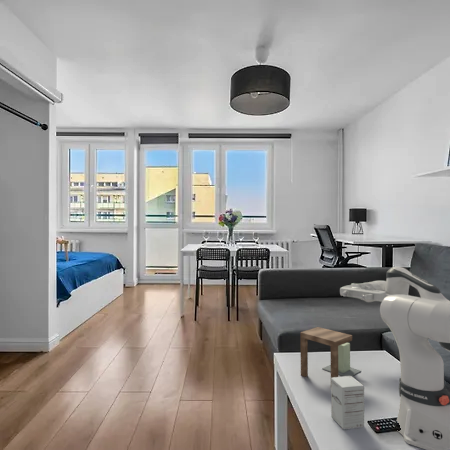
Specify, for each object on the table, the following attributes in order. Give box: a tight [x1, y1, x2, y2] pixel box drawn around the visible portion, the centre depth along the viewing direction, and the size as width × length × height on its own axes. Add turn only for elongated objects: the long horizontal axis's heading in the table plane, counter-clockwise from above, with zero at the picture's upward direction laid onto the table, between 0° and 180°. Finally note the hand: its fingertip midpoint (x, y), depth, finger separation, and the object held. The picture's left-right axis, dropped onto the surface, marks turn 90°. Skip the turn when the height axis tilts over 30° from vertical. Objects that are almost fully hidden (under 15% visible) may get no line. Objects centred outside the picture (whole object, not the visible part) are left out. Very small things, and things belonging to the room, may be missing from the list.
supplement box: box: [330, 376, 365, 430], centre depth 109 cm, size 7×7×13 cm
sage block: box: [338, 342, 351, 373], centre depth 148 cm, size 5×5×11 cm
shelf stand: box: [299, 326, 353, 379], centre depth 141 cm, size 16×12×18 cm
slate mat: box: [321, 364, 362, 377], centre depth 148 cm, size 12×10×1 cm
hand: (353, 295), depth 155 cm, fingers open, 8 cm apart
